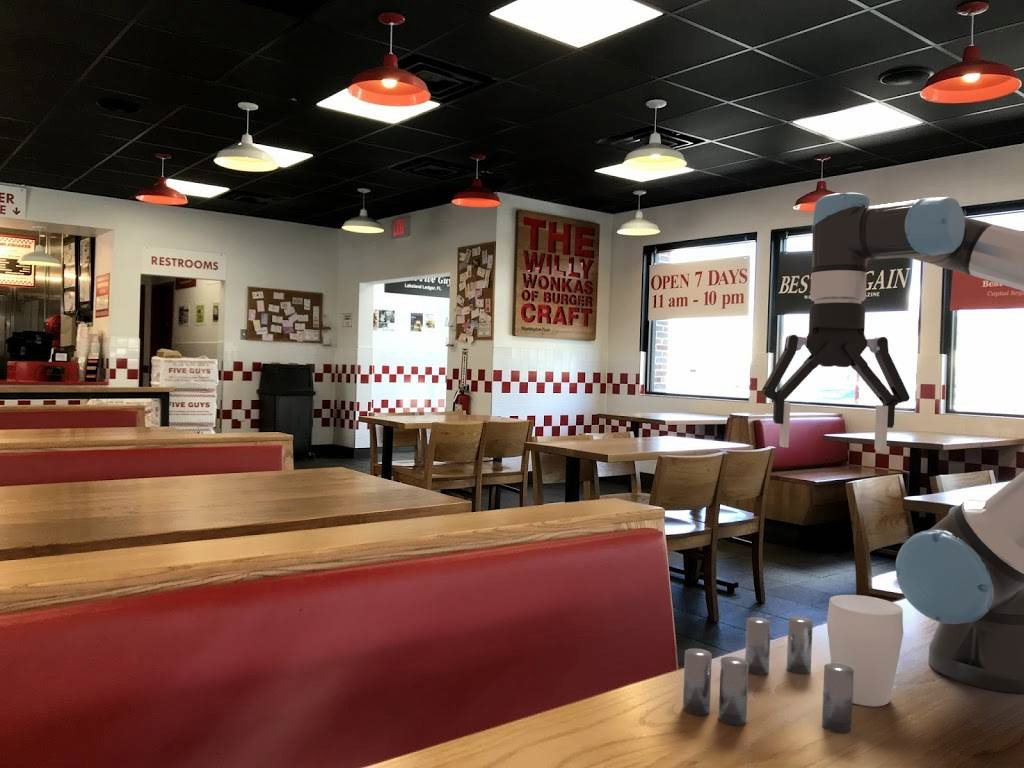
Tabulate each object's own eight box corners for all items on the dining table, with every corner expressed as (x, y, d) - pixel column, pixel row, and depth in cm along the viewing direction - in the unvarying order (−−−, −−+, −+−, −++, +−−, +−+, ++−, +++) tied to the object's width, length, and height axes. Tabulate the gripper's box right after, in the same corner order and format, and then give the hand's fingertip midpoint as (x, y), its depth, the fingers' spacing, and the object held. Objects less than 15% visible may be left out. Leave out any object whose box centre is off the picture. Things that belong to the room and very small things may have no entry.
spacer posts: (807, 666, 113) (809, 617, 113) (855, 734, 92) (857, 674, 92) (670, 657, 115) (672, 609, 115) (686, 721, 94) (688, 663, 94)
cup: (909, 715, 98) (913, 618, 98) (831, 706, 100) (835, 611, 99) (889, 686, 107) (893, 597, 107) (818, 679, 109) (822, 591, 108)
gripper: (917, 306, 118) (911, 449, 119) (744, 303, 121) (739, 442, 122) (938, 302, 111) (931, 454, 112) (754, 299, 114) (749, 447, 114)
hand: (831, 448), depth 117 cm, fingers open, 13 cm apart
